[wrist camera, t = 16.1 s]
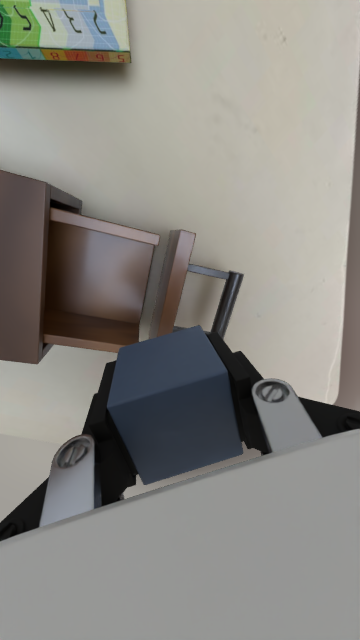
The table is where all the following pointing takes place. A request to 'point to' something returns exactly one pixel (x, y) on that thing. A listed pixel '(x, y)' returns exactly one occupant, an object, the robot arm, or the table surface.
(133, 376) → the block
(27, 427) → the table surface
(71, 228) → the drawer
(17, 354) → the cabinet
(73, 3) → the puzzle game
